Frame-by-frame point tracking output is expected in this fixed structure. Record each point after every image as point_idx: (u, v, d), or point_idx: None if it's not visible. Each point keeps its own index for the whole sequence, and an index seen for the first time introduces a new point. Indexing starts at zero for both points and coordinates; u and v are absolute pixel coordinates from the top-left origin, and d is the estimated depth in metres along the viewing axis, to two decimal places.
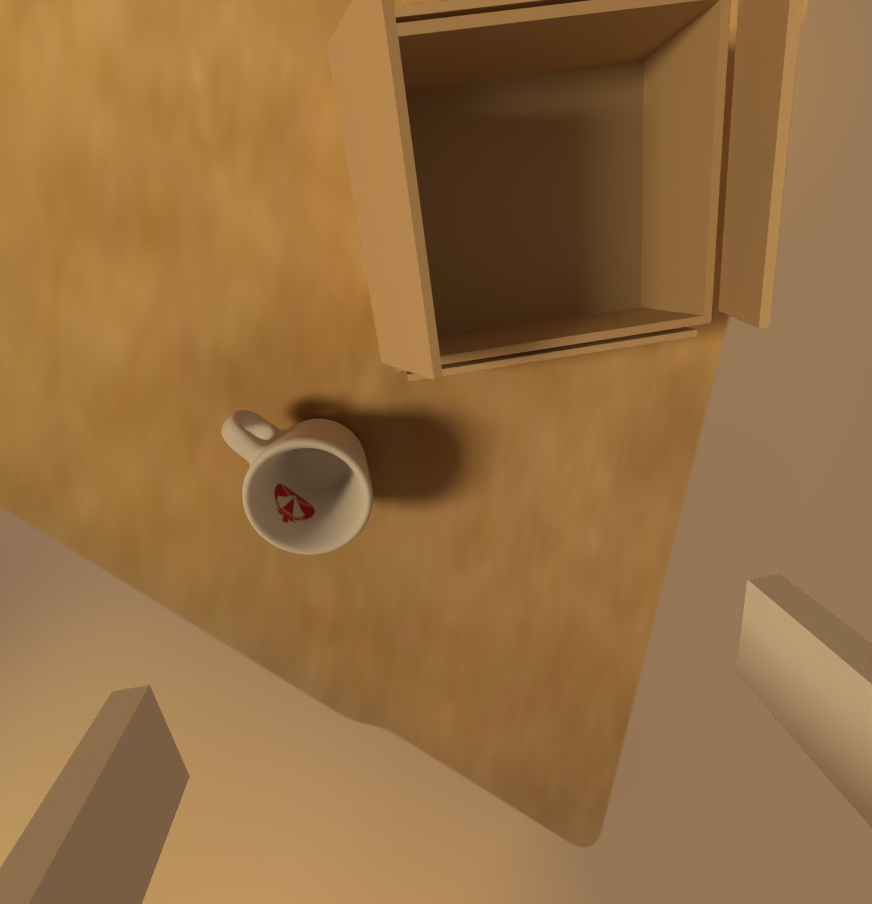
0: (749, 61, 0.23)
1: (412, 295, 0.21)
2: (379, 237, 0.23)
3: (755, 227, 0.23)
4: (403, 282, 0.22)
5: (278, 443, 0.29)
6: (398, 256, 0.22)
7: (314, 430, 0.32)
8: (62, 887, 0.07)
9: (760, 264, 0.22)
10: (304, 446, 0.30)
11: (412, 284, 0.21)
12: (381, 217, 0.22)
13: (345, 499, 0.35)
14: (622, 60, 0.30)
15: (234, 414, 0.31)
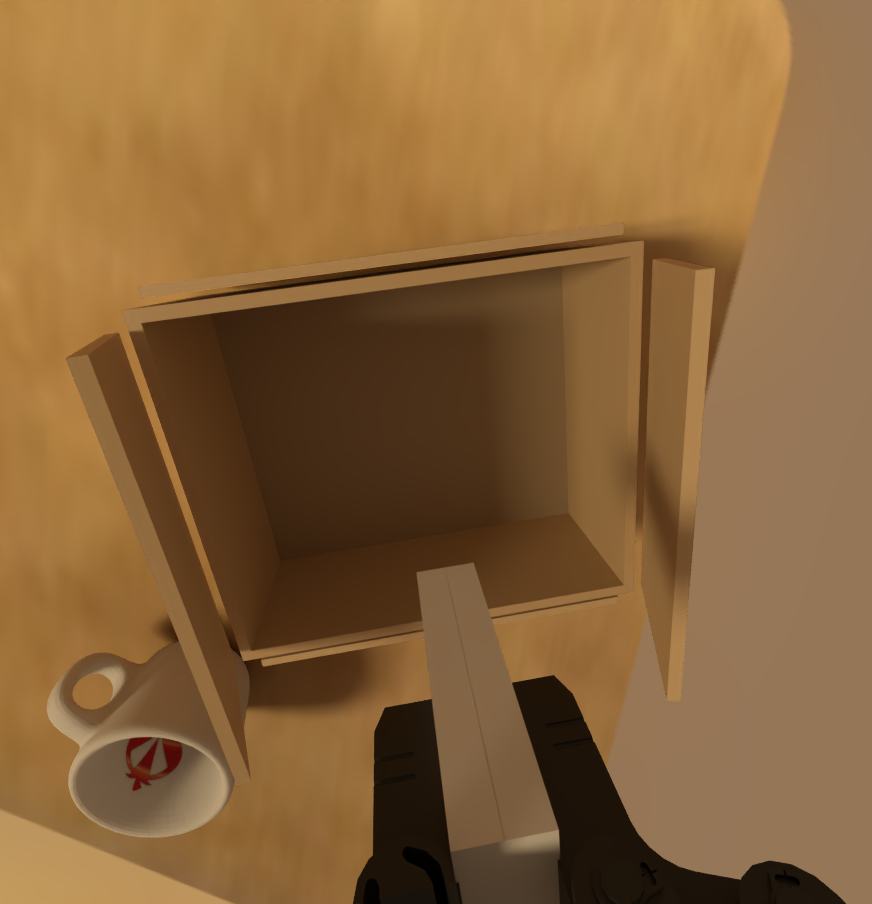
0: (659, 356, 0.18)
1: None
2: None
3: (664, 572, 0.18)
4: None
5: (107, 733, 0.24)
6: None
7: (164, 693, 0.26)
8: None
9: (667, 629, 0.17)
10: None
11: None
12: None
13: None
14: None
15: (65, 678, 0.26)
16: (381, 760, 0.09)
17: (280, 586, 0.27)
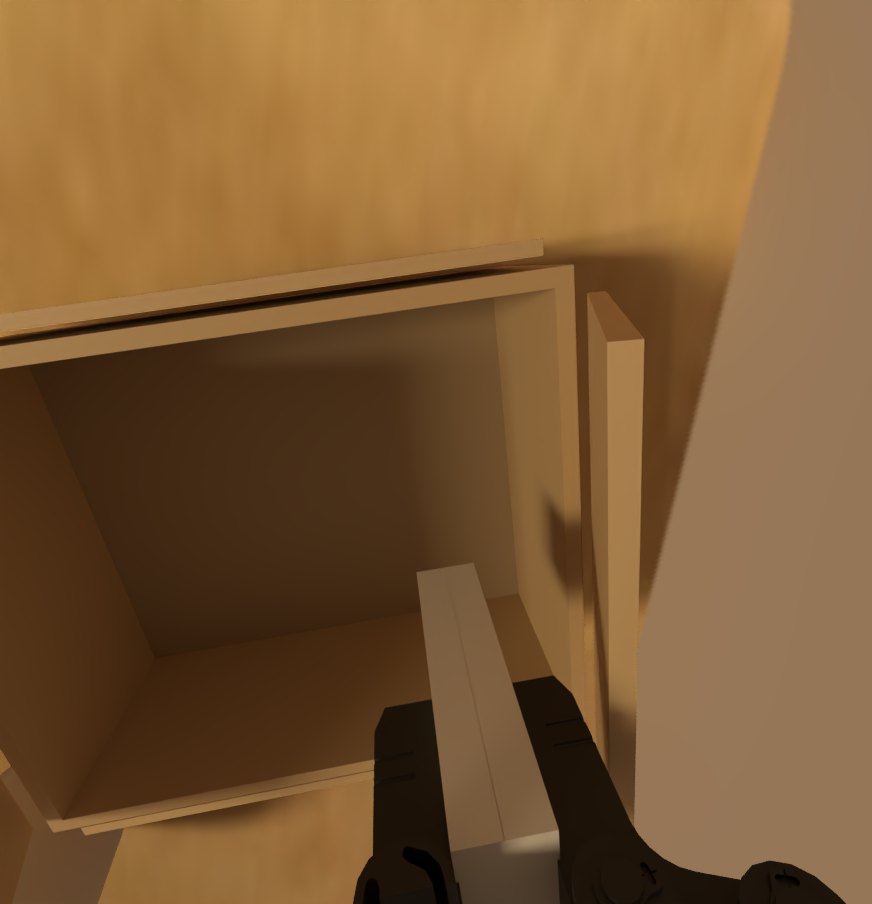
0: (593, 444, 0.11)
1: None
2: None
3: None
4: None
5: None
6: None
7: None
8: None
9: None
10: None
11: None
12: None
13: None
14: None
15: None
16: (381, 760, 0.09)
17: (140, 702, 0.21)
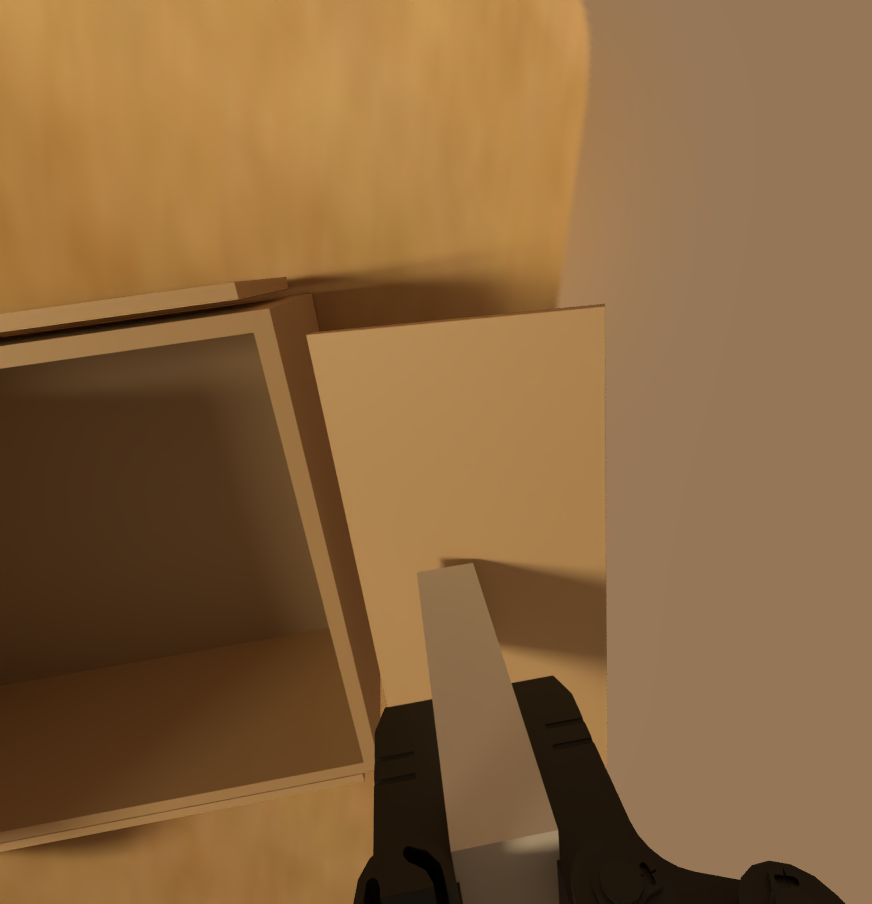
0: (415, 456, 0.12)
1: None
2: None
3: None
4: None
5: None
6: None
7: None
8: None
9: None
10: None
11: None
12: None
13: None
14: None
15: None
16: (381, 760, 0.09)
17: None
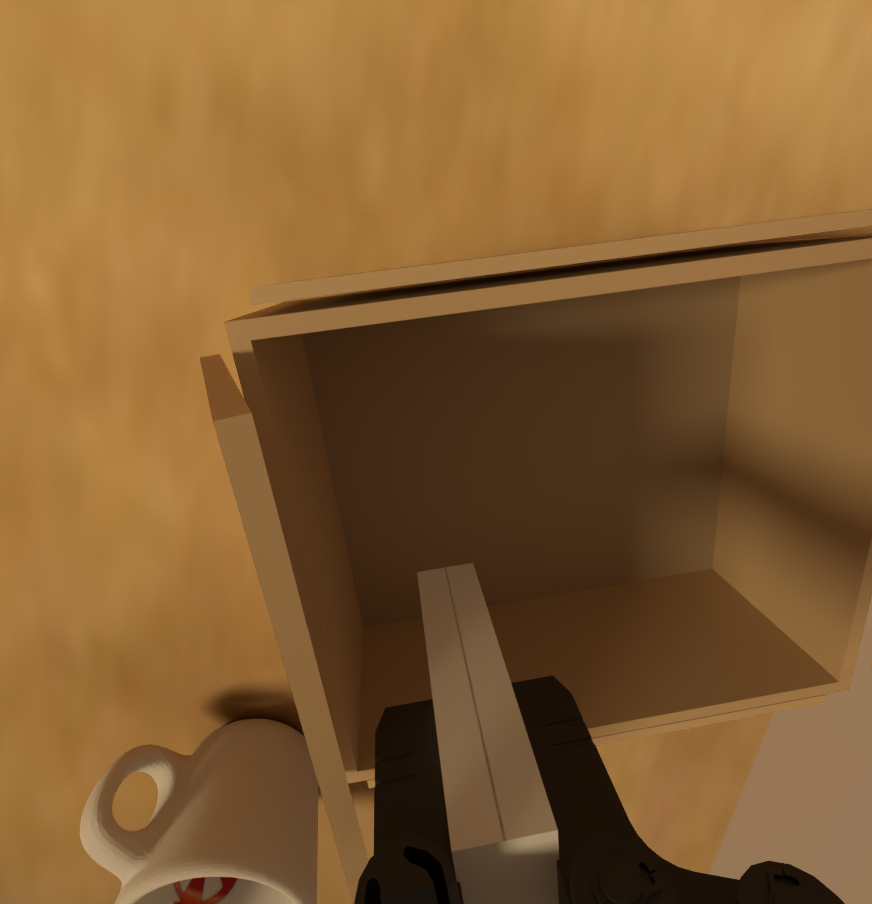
0: None
1: None
2: None
3: None
4: None
5: (161, 871, 0.18)
6: None
7: (228, 807, 0.21)
8: None
9: None
10: None
11: None
12: None
13: None
14: None
15: (103, 788, 0.20)
16: (382, 760, 0.09)
17: (372, 666, 0.22)
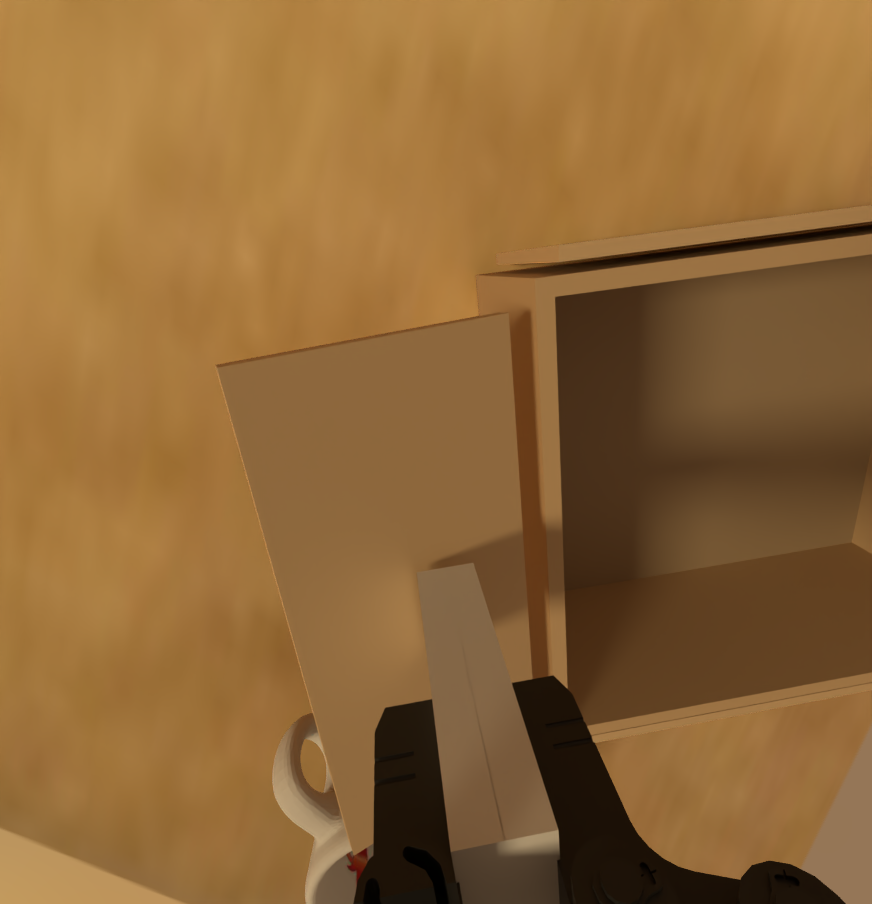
0: None
1: None
2: None
3: None
4: None
5: None
6: None
7: None
8: None
9: None
10: None
11: None
12: None
13: None
14: None
15: (291, 752, 0.21)
16: (381, 760, 0.09)
17: None
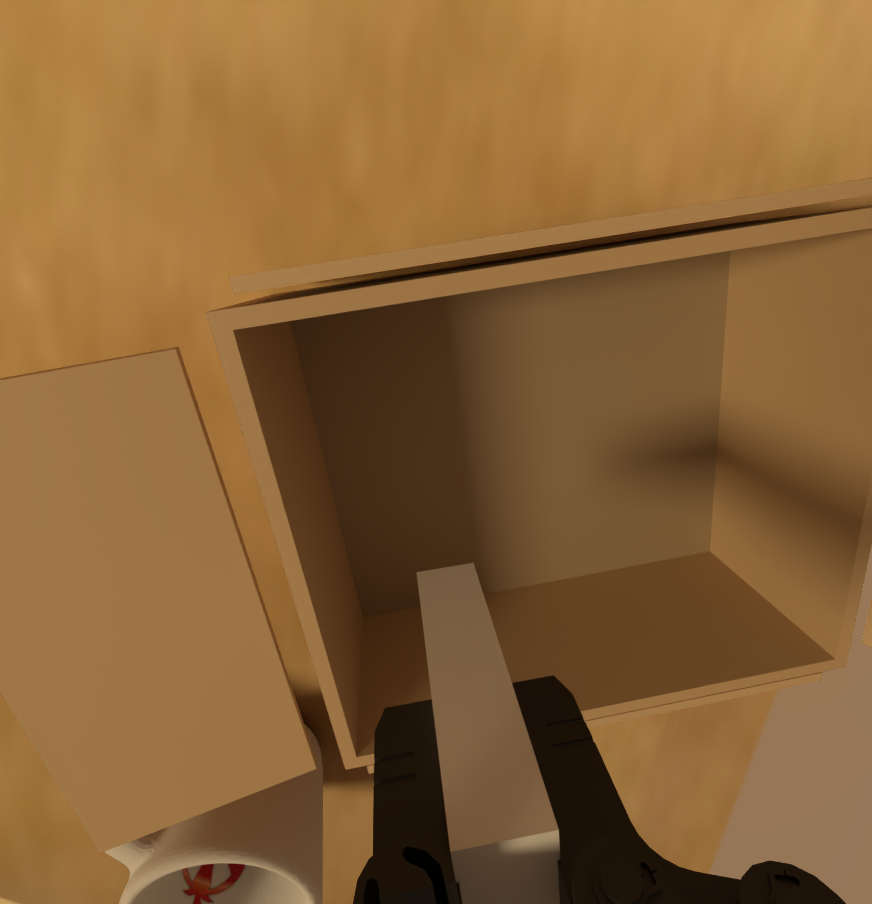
0: None
1: None
2: None
3: None
4: None
5: (167, 859, 0.19)
6: None
7: None
8: None
9: None
10: None
11: None
12: None
13: None
14: None
15: None
16: (381, 760, 0.09)
17: (371, 655, 0.22)
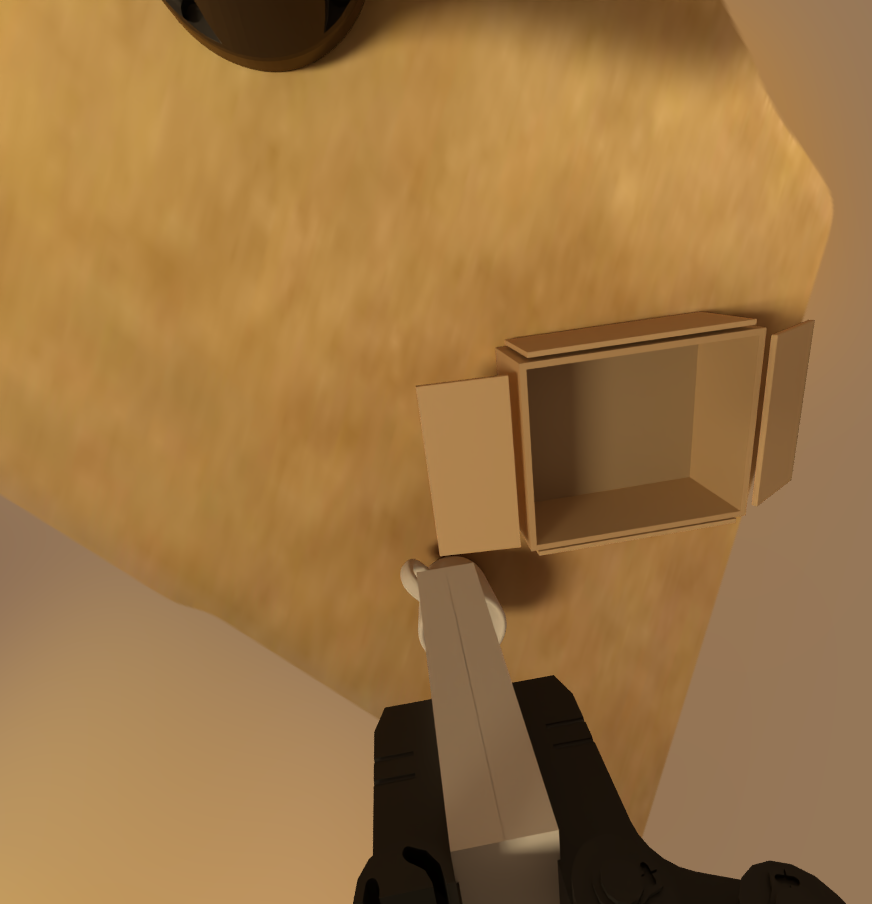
0: (786, 369, 0.40)
1: None
2: None
3: (789, 441, 0.44)
4: None
5: None
6: None
7: None
8: None
9: (792, 454, 0.45)
10: None
11: None
12: None
13: None
14: None
15: (409, 568, 0.45)
16: (381, 760, 0.09)
17: None
